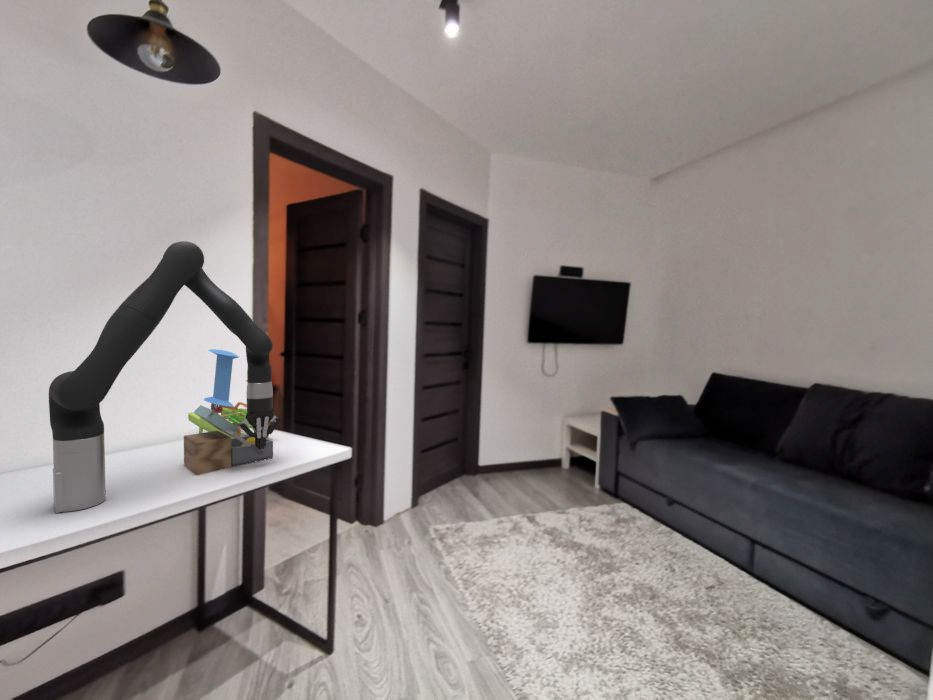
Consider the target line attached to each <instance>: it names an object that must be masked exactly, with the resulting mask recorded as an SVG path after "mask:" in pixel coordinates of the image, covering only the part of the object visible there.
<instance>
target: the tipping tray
mask: <svg viewBox="0 0 933 700" xmlns="http://www.w3.org/2000/svg"><path fill="white" fill-rule="evenodd" d="M192 413H195V414H196V415H198V416H199V417H201V418H202V419H204V420H205V421H207V422H208V423H210V424H211V425H213V426H214V427H216V428H217V429H218V430H220V431H222V432H224V433H226V434H228V435H230V436H232V437H234V438H236V439H238V440H239V441H241V442H242V443H244V444H245V445H246V446H248V447H249V448H251V449H252V450H254V451H255V452H257V453H258V454H260V455H262V454H263V453H264V452H263V451H261V450H260V449H258V448H257V447H256V446H254V445H253V444H251V443H249V442H248V441H246V440H245V439H243V438H242V437H243V436H241V435H240V436H239V435H238V434H236V432H237V431H238V429H239V428H238V426H236V425H235V424H234V423H233V424H232V423H230V422H229V421H230V420H229V419H225V418H223V417H222V416H221V415H220V413H216V412H215V411H213V410H211V408H208V407H207V406H204V405H199V406H198V407H197V408H196V409H195V410H194V411H193V412H192ZM228 420H229V421H228Z"/></svg>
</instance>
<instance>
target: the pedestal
mask: <svg viewBox="0 0 933 700" xmlns="http://www.w3.org/2000/svg"><path fill="white" fill-rule="evenodd" d="M183 466H184V467H186V469H187V470H189V471H190V472H191V473H193V475H195V476H199V475H202V474H203V475H204V474H208V473H213V472H217V471H221V470H225V469H230V468H232V466H231V437H229V436H227V435H225V434H223V433H221V432H219V431H211V432H209V431H206V432H203V433H199V432H198V433H192V434H187V435H184V436H183Z"/></svg>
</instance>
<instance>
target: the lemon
mask: <svg viewBox="0 0 933 700" xmlns="http://www.w3.org/2000/svg"><path fill="white" fill-rule="evenodd" d="M246 441H248V442H249V443H251V444H255V437H250V438H249V439H247V440H246ZM242 446H245V444H244V443H243V444H242Z"/></svg>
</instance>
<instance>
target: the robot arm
mask: <svg viewBox="0 0 933 700" xmlns="http://www.w3.org/2000/svg"><path fill="white" fill-rule="evenodd" d="M204 263H205V255H204V253H203V250H202V249H201V248H200V246H198V245H197V244H196V243H193V242H191V241H186V240H184V241H183V240H182V241H181V240H180V241H177V242H173V243H171V244H170V245H169V246H168V247H167V248H166V250H165V251H164V253H163V255H162V258H161V259H160V261H159V263H158V264H157V266H156V267H155V269H154V270H153V271H152V273H151V274H150V275H149V276H148V277H147V278H146V279H145V280H144V281H143V282H142V283H141V284H140V285H138V287H136V288H135V289H134V290H133V291H132V292H131V293H130V294H129V295H128V297H126V298H125V299H124V301H122V303H121V304H120V305H119V306H118V307H117V308H116V310H115V311H114V312H113V313H112V315H110V317H109V318H108V320H107V322H106V323H105V325H104V327H103V329H102V331H101V333H100V335H99V338H98V340H97V342H96V344H95V346H94V348H93V349H92V350H91V352H90V353H89V354H88V356H87V357H85V359H84V360H83V361H82V362H81V363H80V364H79V365H78V366H77V367H76V369H74V370H71V371H67V372H63V373H61V374H59V375H58V376H56V377H55V378H54V379H53V380H52V381H51V383H50V384H49V387H48V408H49V410H48V411H49V425H50V429H51V432H52V454H53V458H52V459H53V468H52V483H53V484H52V486H53V491H52V492H53V508H54V511H55V514H57V513H62V512H66V513H67V512H75V511H76V512H77V511H79V510H85V509H88V508H92V507H95V506H97V505H100V504H102V503H103V502H104V501H105V500H106V498H107V497H106V495H107V494H106V492H107V491H106V458H105V457H106V452H105V450H106V449H105V446H106V445H105V423H104V421H103V419H102V415H101V403H102V402H103V401H104V399H105V398H106V396H107V395H108V393H109V392H110V390H111V389H112V386H113V385H114V384H115V383H114V382H115V381H116V380H117V379H118V377H119V375H120V373H121V371H122V370H123V369H124V367H125V366H126V364H127V363H128V362H129V361H130V360H131V358H133V356H134V355H135V354H136V353H137V352H138V351H139V349H140V348H141V347H142V346H143V344H145V341H146V340H147V339H148V338H149V337H150V336H151V335H152V334H153V332H154V331H155V329H156V328H157V326H158V325H159V324H160V323H161V322H162V320H163V318H164V317H165V315H166V314H167V312H168V310H169V309H170V307H171V305H172V303H173V302H174V300H175V299H176V297H177V296H178V293H179V292H180V291H181V290H182V288H183V287H184V286H185V287H186V288H188V289H189V290H190V291H191V292H192V293H193V294H194V295H196V296H197V297H198V298H199V299H200V300H201V302H202V303H204V304H205V305H206V306H207V307H208V308H209V309H210V311H211V312H212V313H213V314H214V315H215V316H216V317H217V318H218V319H219V321H220V322H221V323H222V324H223V325H224V326H225V327H226V328H227V329H228V330H229V332H230V333H232V334H233V335H235V336H236V337H237V338H238V339H239V340H240V342H241V343H242V344H243V345H244V346H245V354H246V355H245V356H246V363H247V369H246V370H247V371H246V378H247V379H246V380H247V381H246V382H247V383H246V404H247V407H246V410H247V415H246V417H245V418H246V419H245V420H244V421H243V422H242V423H241V422H240V423H239V424H237V425H238V426H240V427H241V428H242V429H243V430H242V429H241V430H242V431H243V432H244V433H246V435H247V436H251V437H255V446H256V447H257V448H258V449H264V447H265V446H266V436H267V435H272V434H273V433H274V431H275V430H276V428H277V427H278V425H279V424H280V422H281V421H282V418H281V417H278V416H276V415H275V413H274V411H273V409H274V398H273V397H274V390H273V389H274V387H273V379H272V378H273V377H272V376H273V375H272V365H271V364H270V353H271V351H272V350H273V347H274V346H273V345H274V344H273V341H272V339H271V338H270V337H269V336H268V335H267V333H266V332H265V331H264V330H263V329H262V328H260V326H258V324H256V323H255V322H254V321H253V319H252V318H251V317H250V315H249V314H248V313H247V312H246V310H245V309H244V308H243V307H242V306H241V305H240V304H239V303H238V302H237V301H236V300H235V299H233V298H232V297H231V296H230V295H229V294H227V293H226V292H225V291H223V290H222V289H221V288H220V287H219V286H217V285H216V283H214V281H212V280H211V279H210V277H209V276H208V275H207V273H206V272H205V270H204V269H203V267H204ZM270 421H272V422H270ZM248 422H249V423H250V425H251V426H253V429H252V430H251V428H248V426H249V425H248ZM269 423H270V425H269V426H268V424H269Z"/></svg>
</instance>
